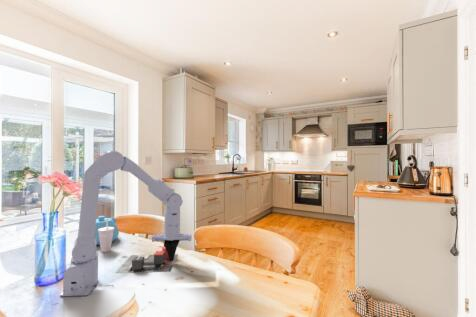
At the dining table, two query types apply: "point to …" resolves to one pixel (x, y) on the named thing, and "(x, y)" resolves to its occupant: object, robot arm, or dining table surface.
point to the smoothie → (105, 237)
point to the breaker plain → (137, 263)
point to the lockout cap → (165, 252)
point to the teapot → (102, 223)
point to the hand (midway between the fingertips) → (171, 259)
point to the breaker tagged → (159, 257)
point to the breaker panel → (147, 265)
